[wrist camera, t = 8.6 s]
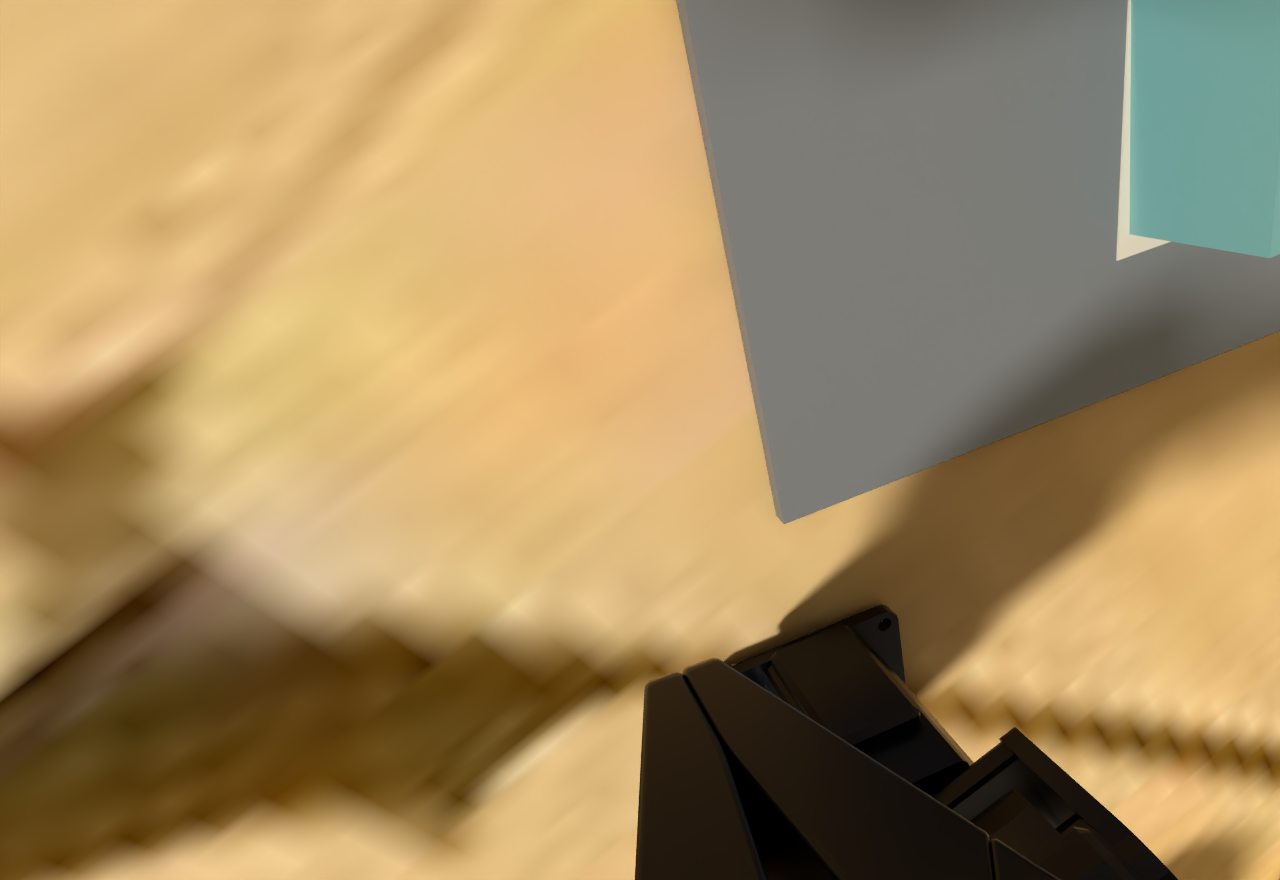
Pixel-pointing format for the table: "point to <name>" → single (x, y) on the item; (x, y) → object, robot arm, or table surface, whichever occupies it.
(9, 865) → the table surface
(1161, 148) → the t block
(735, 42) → the mat
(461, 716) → the table surface
